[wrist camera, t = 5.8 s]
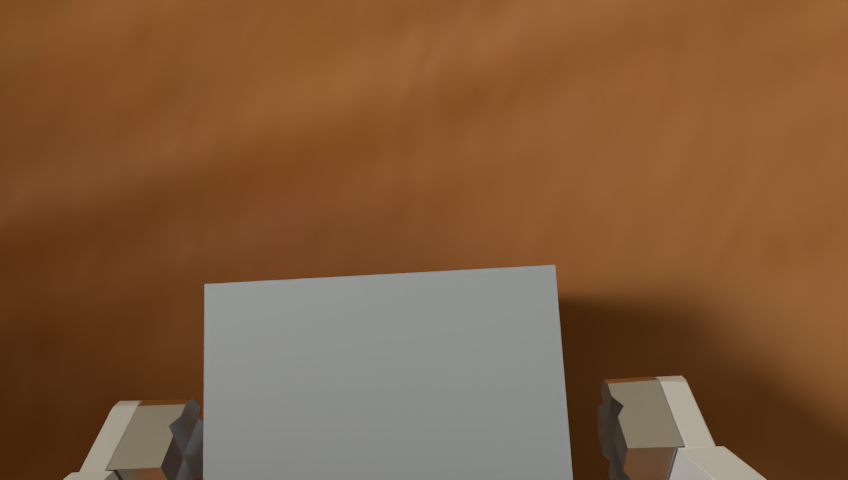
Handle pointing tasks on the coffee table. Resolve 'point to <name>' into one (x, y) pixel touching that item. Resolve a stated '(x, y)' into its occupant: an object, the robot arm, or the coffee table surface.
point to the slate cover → (386, 378)
